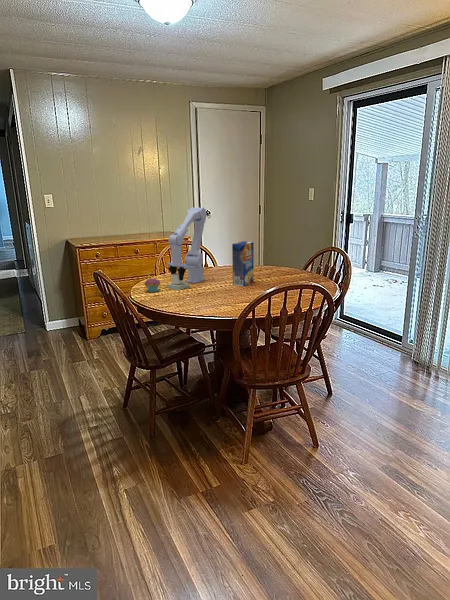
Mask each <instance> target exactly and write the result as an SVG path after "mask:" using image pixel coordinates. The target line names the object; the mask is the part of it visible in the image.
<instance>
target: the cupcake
mask: <svg viewBox="0 0 450 600" xmlns="http://www.w3.org/2000/svg"><path fill="white" fill-rule="evenodd" d="M147 275H148V279H146V281H144V286H145V287H146V288H147V291H148V292H149V293H157V292H158V290H159V286H160V285H161V281H160V280H159V279H157V278H151V276H150V275H151V274H150V272H149V270H147Z"/></svg>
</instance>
